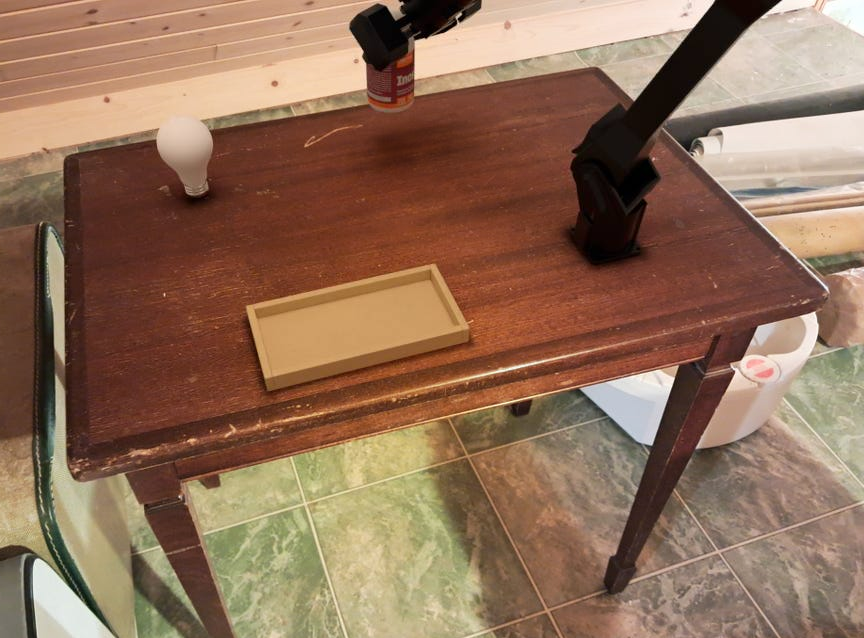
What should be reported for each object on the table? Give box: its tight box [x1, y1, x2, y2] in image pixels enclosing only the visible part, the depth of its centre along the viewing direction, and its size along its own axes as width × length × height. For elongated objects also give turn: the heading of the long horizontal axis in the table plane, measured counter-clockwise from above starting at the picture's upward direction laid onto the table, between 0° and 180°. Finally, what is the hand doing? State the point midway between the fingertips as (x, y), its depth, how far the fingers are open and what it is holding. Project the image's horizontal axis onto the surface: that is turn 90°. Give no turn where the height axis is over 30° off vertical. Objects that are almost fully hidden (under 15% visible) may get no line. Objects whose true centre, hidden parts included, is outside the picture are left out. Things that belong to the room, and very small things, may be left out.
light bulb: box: [156, 114, 214, 199], centre depth 89 cm, size 7×7×11 cm
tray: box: [245, 263, 471, 392], centre depth 77 cm, size 22×11×2 cm, turn 107°
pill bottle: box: [365, 8, 416, 114], centre depth 91 cm, size 6×6×11 cm
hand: (381, 50), depth 91 cm, fingers closed on pill bottle, 6 cm apart
